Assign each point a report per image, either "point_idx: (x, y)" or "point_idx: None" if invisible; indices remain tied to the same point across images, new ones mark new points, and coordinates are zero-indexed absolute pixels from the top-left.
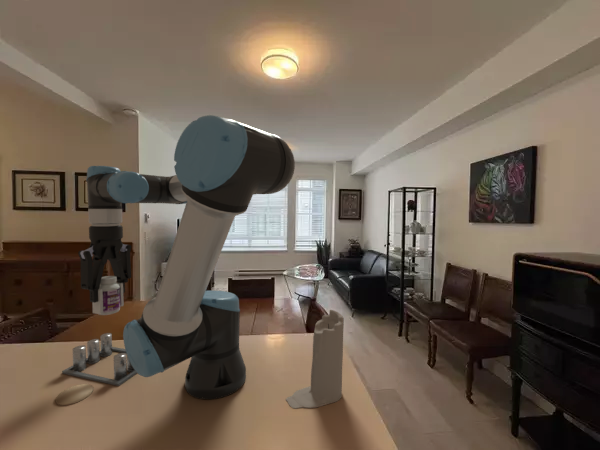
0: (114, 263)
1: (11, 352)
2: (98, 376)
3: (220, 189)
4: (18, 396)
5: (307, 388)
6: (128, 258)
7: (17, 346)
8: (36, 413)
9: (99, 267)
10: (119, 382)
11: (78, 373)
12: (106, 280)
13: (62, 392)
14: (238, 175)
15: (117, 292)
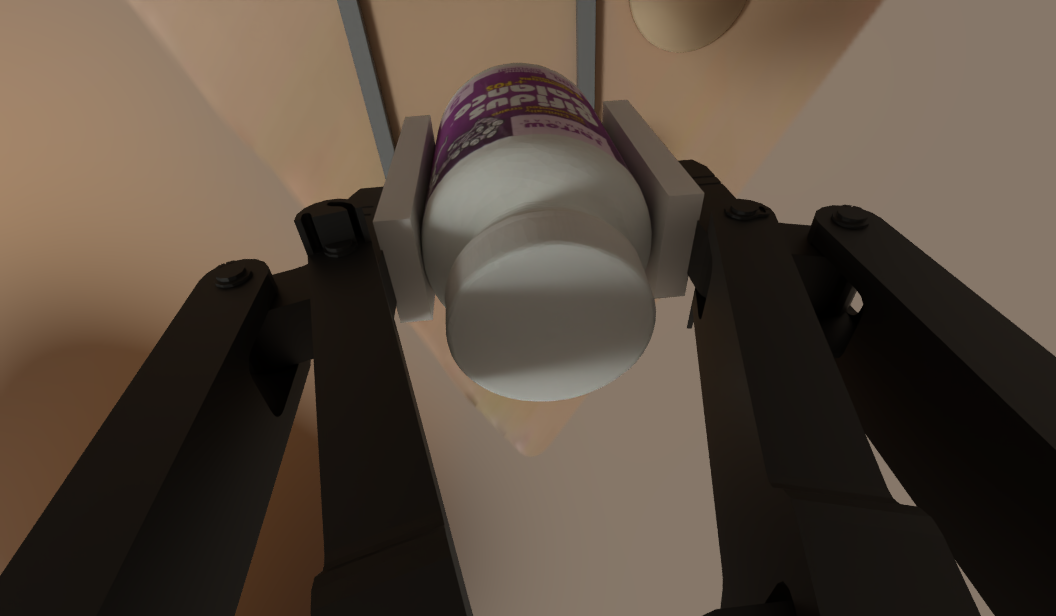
0: (445, 518)
1: (555, 420)
2: (579, 8)
3: None
4: (722, 175)
5: None
6: (50, 593)
7: (528, 439)
8: (797, 8)
9: (861, 429)
10: None
11: None
12: (632, 258)
13: (694, 44)
14: None
15: (502, 122)
